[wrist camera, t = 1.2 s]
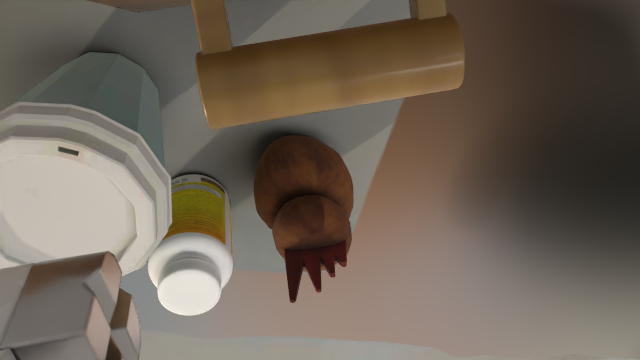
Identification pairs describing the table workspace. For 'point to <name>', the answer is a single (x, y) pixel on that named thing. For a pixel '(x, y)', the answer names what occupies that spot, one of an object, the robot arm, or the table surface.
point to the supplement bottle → (194, 247)
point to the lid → (318, 63)
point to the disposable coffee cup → (84, 166)
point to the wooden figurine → (305, 206)
